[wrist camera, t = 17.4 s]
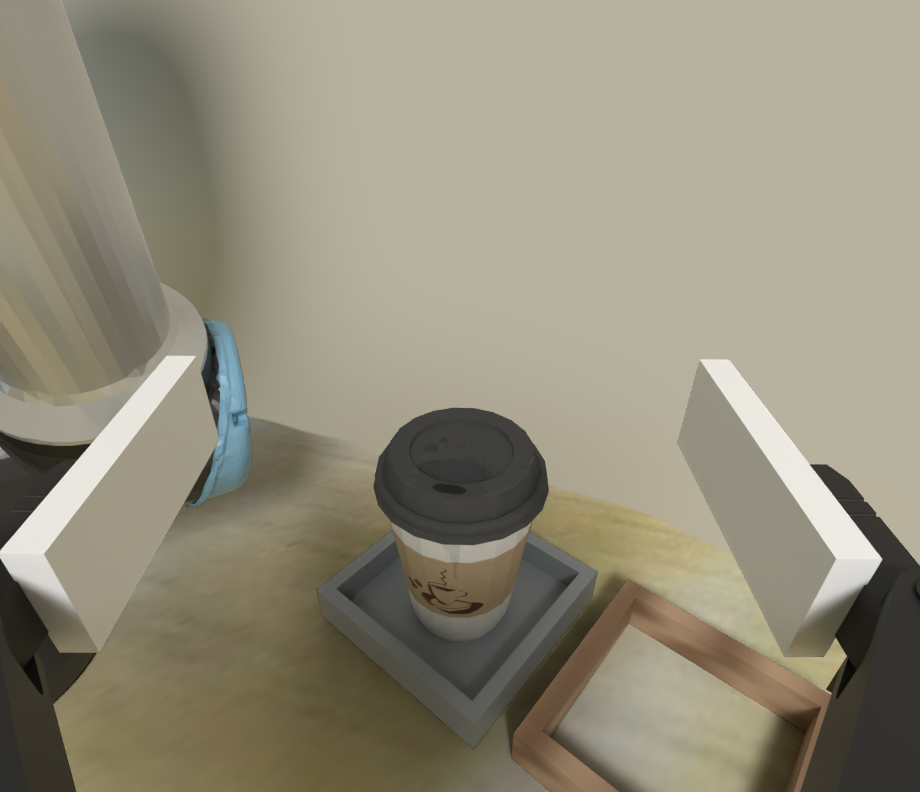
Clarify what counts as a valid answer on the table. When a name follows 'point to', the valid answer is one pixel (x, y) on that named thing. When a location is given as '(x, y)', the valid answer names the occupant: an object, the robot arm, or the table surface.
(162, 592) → the table surface
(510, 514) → the coffee cup
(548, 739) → the collar
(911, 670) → the robot arm
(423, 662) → the tray
